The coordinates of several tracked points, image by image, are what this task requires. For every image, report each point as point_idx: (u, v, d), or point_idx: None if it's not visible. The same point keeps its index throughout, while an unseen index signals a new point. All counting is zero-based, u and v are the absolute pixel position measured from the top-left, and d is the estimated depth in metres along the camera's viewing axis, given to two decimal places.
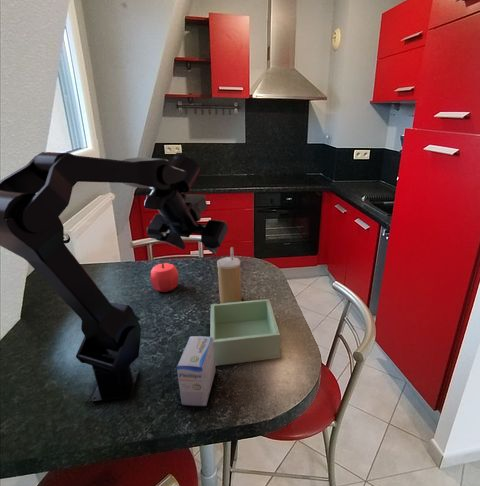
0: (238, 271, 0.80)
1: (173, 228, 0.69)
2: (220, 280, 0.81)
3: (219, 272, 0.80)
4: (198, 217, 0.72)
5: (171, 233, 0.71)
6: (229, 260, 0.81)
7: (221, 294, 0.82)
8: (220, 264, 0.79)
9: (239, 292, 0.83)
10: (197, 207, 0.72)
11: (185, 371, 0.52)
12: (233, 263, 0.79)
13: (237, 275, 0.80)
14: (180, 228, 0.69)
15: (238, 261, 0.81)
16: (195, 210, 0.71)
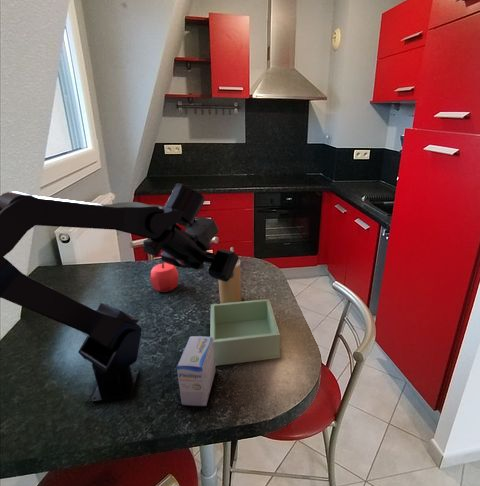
0: (238, 271, 0.80)
1: (181, 262, 0.67)
2: (220, 280, 0.81)
3: None
4: (207, 247, 0.68)
5: (181, 264, 0.69)
6: None
7: (221, 294, 0.82)
8: None
9: (239, 292, 0.83)
10: (205, 236, 0.68)
11: (185, 371, 0.52)
12: None
13: (237, 275, 0.80)
14: (187, 262, 0.66)
15: (238, 261, 0.81)
16: (202, 241, 0.67)
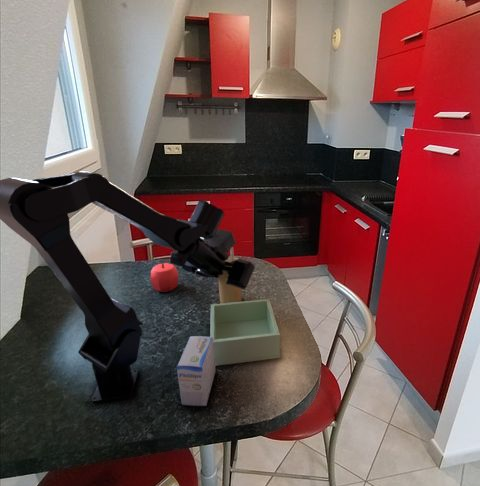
0: None
1: (202, 271, 0.73)
2: (220, 280, 0.81)
3: None
4: (225, 257, 0.74)
5: (201, 272, 0.75)
6: (229, 260, 0.81)
7: (221, 294, 0.82)
8: None
9: (239, 292, 0.83)
10: (224, 247, 0.74)
11: (185, 371, 0.52)
12: None
13: None
14: (208, 271, 0.72)
15: None
16: (221, 252, 0.73)
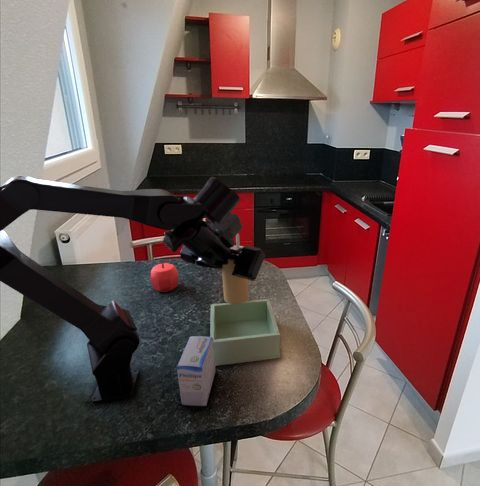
0: None
1: (203, 259, 0.62)
2: (224, 271, 0.70)
3: None
4: (231, 243, 0.64)
5: (203, 262, 0.65)
6: (234, 248, 0.71)
7: (225, 288, 0.71)
8: None
9: (246, 285, 0.72)
10: (229, 232, 0.63)
11: (185, 371, 0.52)
12: None
13: None
14: (211, 260, 0.62)
15: None
16: (227, 237, 0.62)
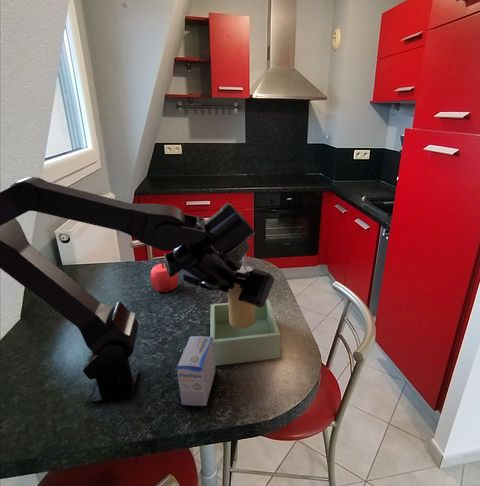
0: None
1: (208, 284, 0.58)
2: (230, 294, 0.66)
3: None
4: (238, 267, 0.59)
5: (207, 286, 0.60)
6: (241, 269, 0.66)
7: (231, 311, 0.67)
8: None
9: (253, 308, 0.68)
10: (236, 255, 0.59)
11: (185, 371, 0.52)
12: None
13: None
14: (216, 285, 0.57)
15: None
16: (233, 260, 0.58)
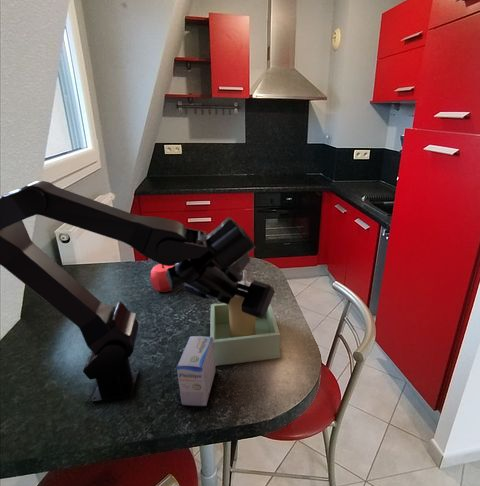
0: None
1: (209, 296, 0.59)
2: (231, 310, 0.67)
3: (230, 300, 0.66)
4: (238, 278, 0.60)
5: (209, 297, 0.61)
6: None
7: (232, 326, 0.68)
8: None
9: (253, 323, 0.69)
10: (237, 267, 0.60)
11: (185, 371, 0.52)
12: None
13: None
14: (217, 297, 0.58)
15: None
16: (234, 272, 0.59)
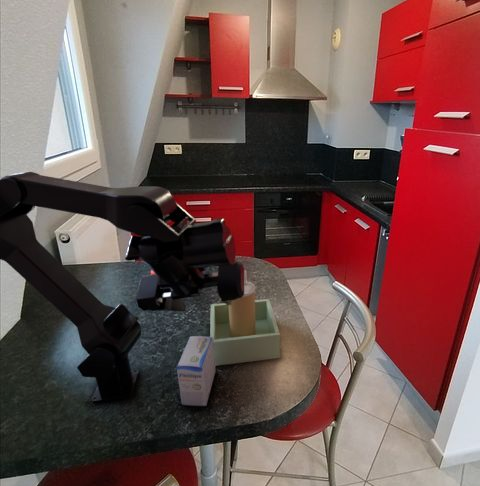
0: (252, 299, 0.67)
1: (178, 290, 0.51)
2: (231, 310, 0.67)
3: None
4: None
5: (174, 297, 0.53)
6: None
7: (232, 326, 0.68)
8: None
9: (253, 323, 0.69)
10: None
11: (185, 371, 0.52)
12: (246, 290, 0.66)
13: (251, 304, 0.67)
14: (188, 287, 0.51)
15: (252, 287, 0.67)
16: None
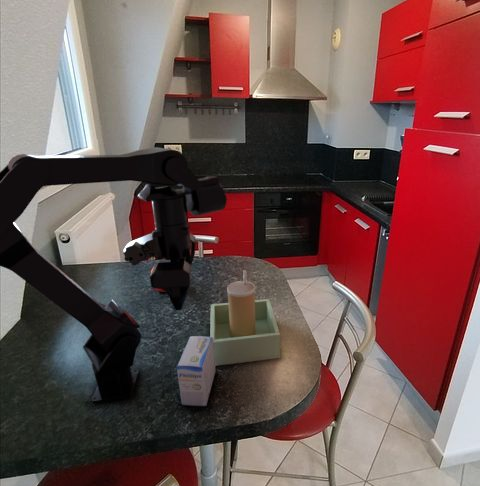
0: (252, 299, 0.67)
1: (189, 238, 0.59)
2: (231, 310, 0.67)
3: (230, 300, 0.66)
4: None
5: (190, 251, 0.58)
6: (241, 285, 0.68)
7: (232, 326, 0.68)
8: (231, 291, 0.66)
9: (253, 323, 0.69)
10: None
11: (185, 371, 0.52)
12: (246, 290, 0.66)
13: (251, 304, 0.67)
14: None
15: (252, 287, 0.67)
16: None
